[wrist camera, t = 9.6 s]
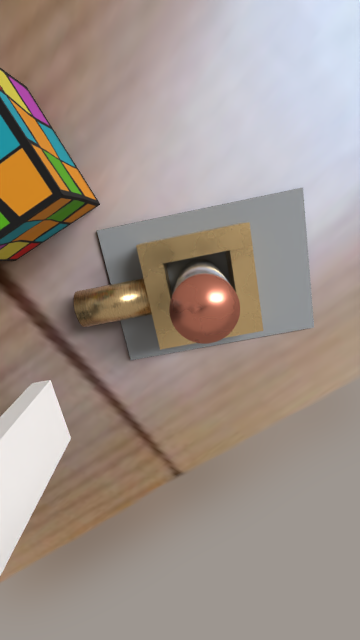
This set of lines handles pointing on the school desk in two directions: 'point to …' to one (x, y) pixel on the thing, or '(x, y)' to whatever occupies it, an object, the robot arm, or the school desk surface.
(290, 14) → the school desk surface
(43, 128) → the toy
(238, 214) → the mat
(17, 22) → the school desk surface
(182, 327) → the copper-capped silver cylinder
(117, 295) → the fitting socket
